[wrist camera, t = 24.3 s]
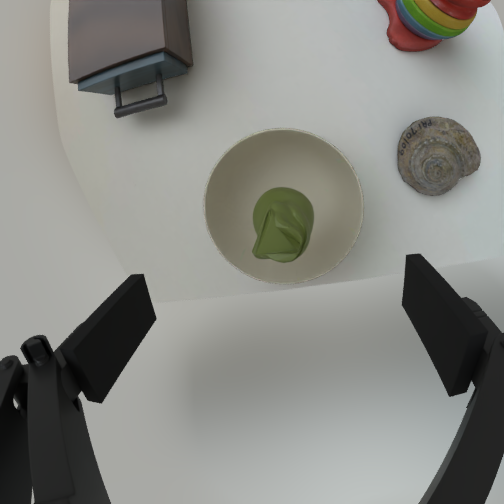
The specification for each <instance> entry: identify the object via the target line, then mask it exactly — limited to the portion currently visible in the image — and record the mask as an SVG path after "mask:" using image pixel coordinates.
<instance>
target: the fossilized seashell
mask: <svg viewBox="0 0 504 504" xmlns="http://www.w3.org/2000/svg"><path fill="white" fill-rule="evenodd" d="M480 160H481V157H480V152H479V149H478V147H477V145H476V143H475V142H474V140H473V137H472V136H471V135H470V133H469V132H468V131H467V130H466V129H465V128H464V127H463V126H462V125H460V124H459V123H457V122H456V121H454V120H451V119H449V118H442V117H427V118H424V119H421V120H418V121H415V122H413V123H412V124H411V125H410V126H409V127H408V128H407V129H406V130H405V131H404V132H403V134H402V136H401V139H400V141H399V145H398V169H399V172H400V173H401V175H402V177H403V180H404V182H407V183H408V184H410V185H411V186H412V187H413V188H415V189H416V190H417V191H418V192H420V193H422V194H426V195H431V196H433V195H441V194H444V193H446V192H448V191H449V190H451V189H452V188H453V187H454V186H455V185H456V184H457V182H458V180H459V179H460V178H463V177H465V176H468V175H470V174H472V173H473V172H474V171H476V170H478V167H479V166H480Z"/></svg>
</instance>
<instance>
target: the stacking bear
mask: <svg viewBox="0 0 504 504" xmlns="http://www.w3.org/2000/svg"><path fill="white" fill-rule="evenodd" d="M490 1H491V0H378V2H379V3H380V4H381V5H382V6H383V7H384V8H385V9H386V11H387V13H388V15H389V20H390V23H389V27H388V29H387V36H388V37H389V42H390V43H391V44H393V45H394V46H395V47H396V48H397V49H399V50H402V51H423V50H427V49H430V48H432V47H434V46H436V45H437V44H439V43H440V42H441V41H442V40H443V39H448V38H452V37H455V36H457V35H459V34H461V33H462V32H464V31H465V30H466V29H467V28H468V27H469V25H470V24H471V23H472V21H473V20H474V18H475V16H476V13H477V8H478V7H482V6H485V5H486V4H488V3H489V2H490Z"/></svg>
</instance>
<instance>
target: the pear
mask: <svg viewBox="0 0 504 504" xmlns="http://www.w3.org/2000/svg"><path fill="white" fill-rule="evenodd" d="M313 224H314V210H313V206H312V204H311V202H310V201H309V199H308V198H307V197H306V196H305V195H304V194H302V193H301V192H299V191H297V190H295V189H292V188H288V187H276V188H272V189H270V190H268V191H266V192H265V193H264V194H262V196H261V197H260V198H259V199H258V201H257V202H256V205H255V207H254V210H253V225H254V229H255V232H256V234H257V239H256V241H255V244H254V247H253V249H252V253H253V255H254V256H255V257H256V258H258V259H272V260H274V261H277V262H281V263H287V262H292V261H294V260H296V259H297V258H298V257H300V256H301V255H302V254H303V253H304V251H305V250H306V248H307V247H308V244H309V241H310V235H311V233H312V229H313Z"/></svg>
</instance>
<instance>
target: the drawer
mask: <svg viewBox="0 0 504 504" xmlns="http://www.w3.org/2000/svg"><path fill="white" fill-rule="evenodd" d="M186 73H188V72H187V65H186V64H184V63H182V62H181V61H179V60H178V59H176V58H174V57H173V56H171V55H169V54H168V53H166V52H164V51H160V52H156V53H153V54H150V55H147V56H143V57H140V58H137V59H134V60H131V61H128V62H126V63H123V64H120V65H117V66H115V67H112V68H109V69H107V70H104V71H102V72H99V73H98V74H96V75H93V76H91V77H89V78H86V79H84V80H82V81H79V82H78V91H85V92H93V93H100V94H107V95H113V94H115V99H116V108H115V110H114V115H115V117H116V118H120V117H124V116H127V115H130V114H134V113H137V112H141V111H145V110H148V109H152V108H156V107H160V106H164V105H167V103H168V100H167V97H166V95H165V94H164V90H163V81H162V79H166V78H170V77H174V76H178V75H182V74H186ZM155 81H156V82H157V90H158V95H159V96H156V97H152V98H148V99H145V100H141V101H138V102H134V103H131V104H128V105H124V106H122V101H121V92H122V91H125V90H128V89H131V88H134V87H138V86H141V85H144V84H148V83H151V82H155Z"/></svg>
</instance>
